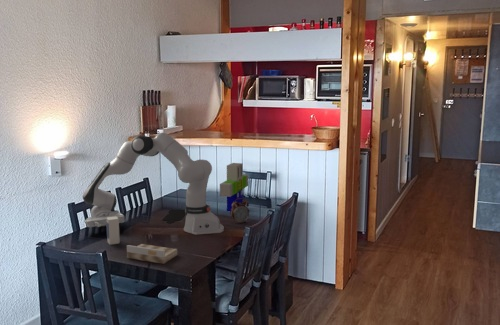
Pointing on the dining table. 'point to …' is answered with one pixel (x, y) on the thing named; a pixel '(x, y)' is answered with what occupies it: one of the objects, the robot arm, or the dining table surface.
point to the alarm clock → (239, 211)
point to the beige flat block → (151, 253)
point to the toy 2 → (234, 184)
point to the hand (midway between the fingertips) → (108, 224)
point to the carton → (112, 230)
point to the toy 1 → (174, 216)
